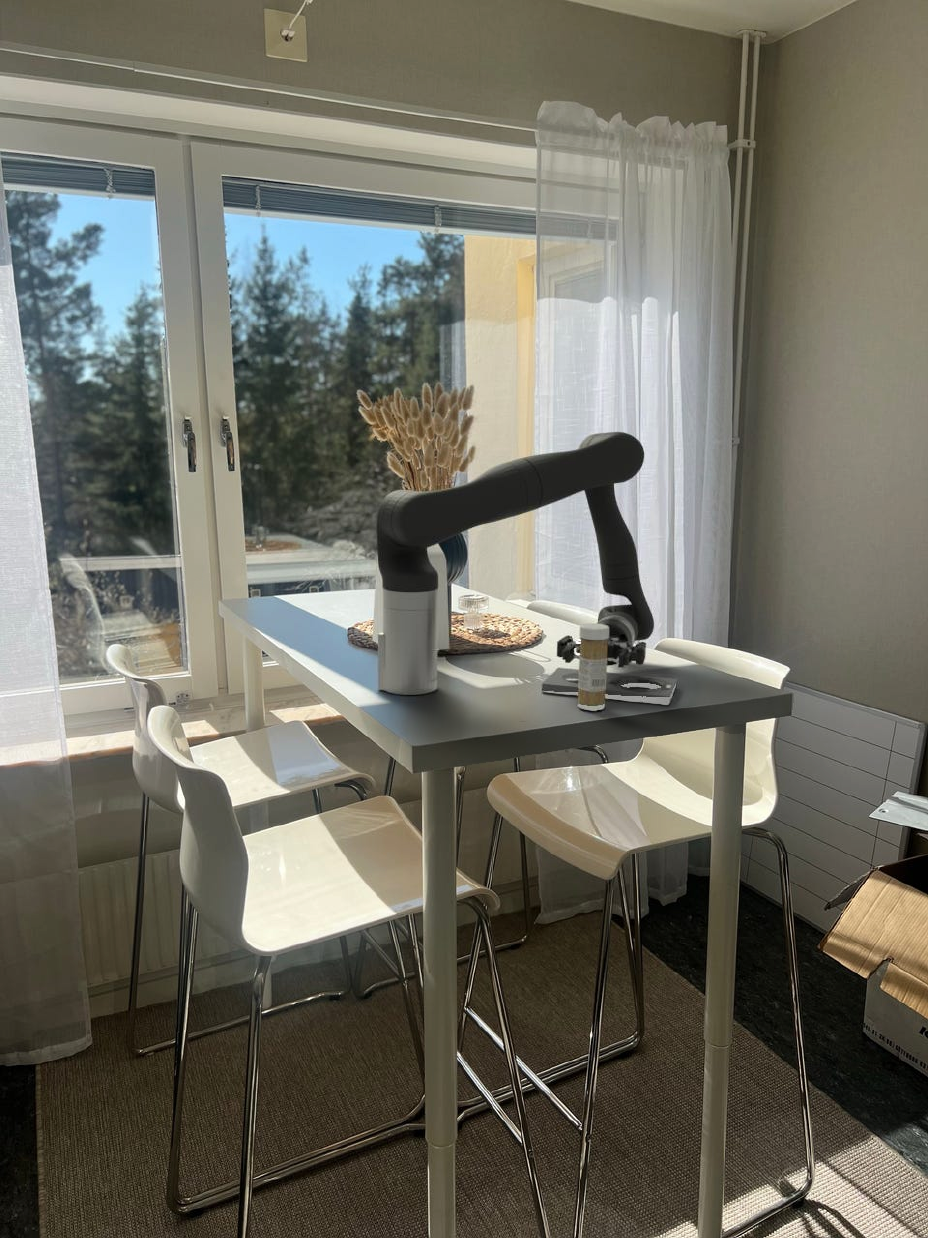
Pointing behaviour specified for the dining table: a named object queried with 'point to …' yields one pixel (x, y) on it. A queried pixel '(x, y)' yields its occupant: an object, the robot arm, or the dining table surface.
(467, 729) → the dining table surface
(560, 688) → the socket board
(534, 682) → the dining table surface
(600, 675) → the sprinkles bottle
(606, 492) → the robot arm
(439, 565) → the milk
